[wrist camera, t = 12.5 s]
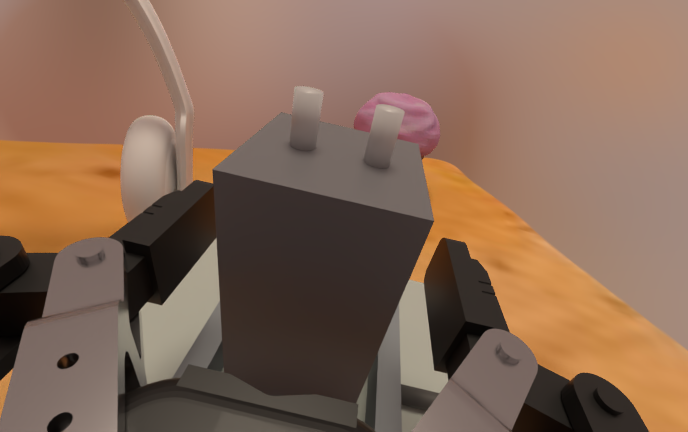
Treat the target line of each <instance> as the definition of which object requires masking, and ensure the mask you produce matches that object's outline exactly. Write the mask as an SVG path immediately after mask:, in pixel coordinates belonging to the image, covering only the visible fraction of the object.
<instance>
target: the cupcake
mask: <svg viewBox="0 0 688 432" xmlns="http://www.w3.org/2000/svg"><path fill="white" fill-rule="evenodd" d="M378 104H385V105H391V106H394V107H397V108H400V109H402V110H403V111H404V112H405V113H404V117H403V120H402V124H401V127H400V130H399V134H398V137H397V139H399V140H404V141H408V142H412V143H417V144H419V149H420V154H421V159H423V158H424V156H425V155H428V154H430V153H431V152H432V151H433V149H434V148H435V147H436V146H437V144H438V142H439V138H440V129H439V122H438V119H437V117H436V115H435V114H434V112H433V110H432V108H431V107H430V105H429V104H427V103H426V102H425V101H423V100H421V99H418V98H415V97H413V96H410V95H409V94H406V93H402V94H400V93H391V92H386V93H379V94H377V95H375V96H374V97H373V98H372V99H370V100H369V101H368V102H366V103H365V104H364V106H363V107H362V108H361V109H360V110H359V111H358V113H357V115H356V117H355V120H354V129H356V130H360V131H365V132H369V133H370V130H371V125H372V121H373V117H374V113H375V109H376V105H378Z"/></svg>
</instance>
